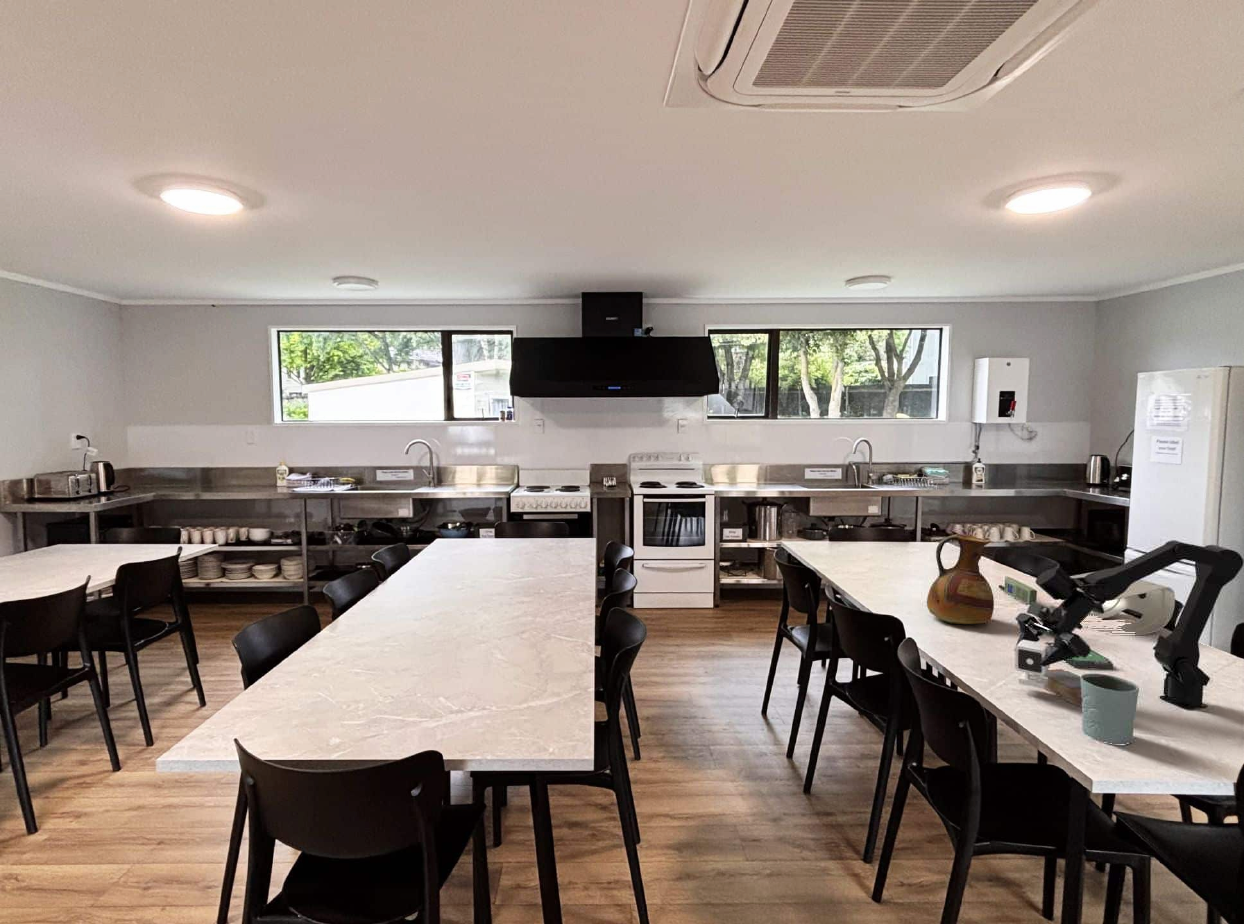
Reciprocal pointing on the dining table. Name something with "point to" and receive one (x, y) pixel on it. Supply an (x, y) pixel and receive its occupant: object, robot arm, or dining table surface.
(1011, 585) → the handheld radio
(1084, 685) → the green plant pot
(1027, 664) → the security camera
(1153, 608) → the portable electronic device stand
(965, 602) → the ceramic pitcher
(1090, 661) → the disk drive
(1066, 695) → the walnut stand
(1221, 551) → the robot arm
